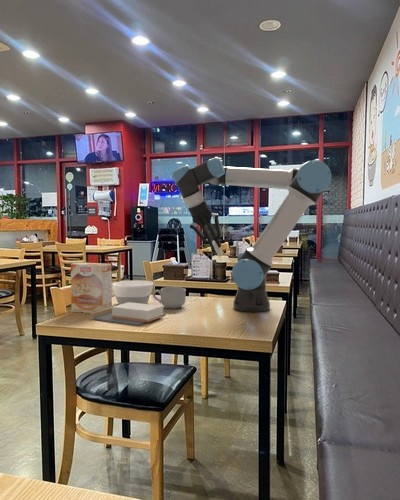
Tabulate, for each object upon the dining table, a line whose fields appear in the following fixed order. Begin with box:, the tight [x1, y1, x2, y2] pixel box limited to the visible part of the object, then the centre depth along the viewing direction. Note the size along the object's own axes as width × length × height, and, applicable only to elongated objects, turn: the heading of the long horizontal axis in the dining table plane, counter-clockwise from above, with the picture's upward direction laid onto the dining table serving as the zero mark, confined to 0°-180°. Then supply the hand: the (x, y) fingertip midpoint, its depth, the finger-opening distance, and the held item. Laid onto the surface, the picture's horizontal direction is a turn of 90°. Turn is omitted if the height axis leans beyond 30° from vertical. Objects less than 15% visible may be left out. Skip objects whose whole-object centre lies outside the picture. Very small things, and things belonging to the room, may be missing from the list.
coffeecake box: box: [70, 262, 113, 314], centre depth 161 cm, size 15×7×20 cm, turn 70°
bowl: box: [112, 280, 155, 305], centre depth 176 cm, size 18×18×9 cm
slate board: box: [90, 306, 166, 327], centre depth 151 cm, size 21×18×2 cm
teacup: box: [152, 286, 187, 310], centre depth 169 cm, size 14×11×8 cm
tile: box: [112, 302, 164, 323], centre depth 149 cm, size 4×10×16 cm
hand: (220, 254), depth 165 cm, fingers closed
